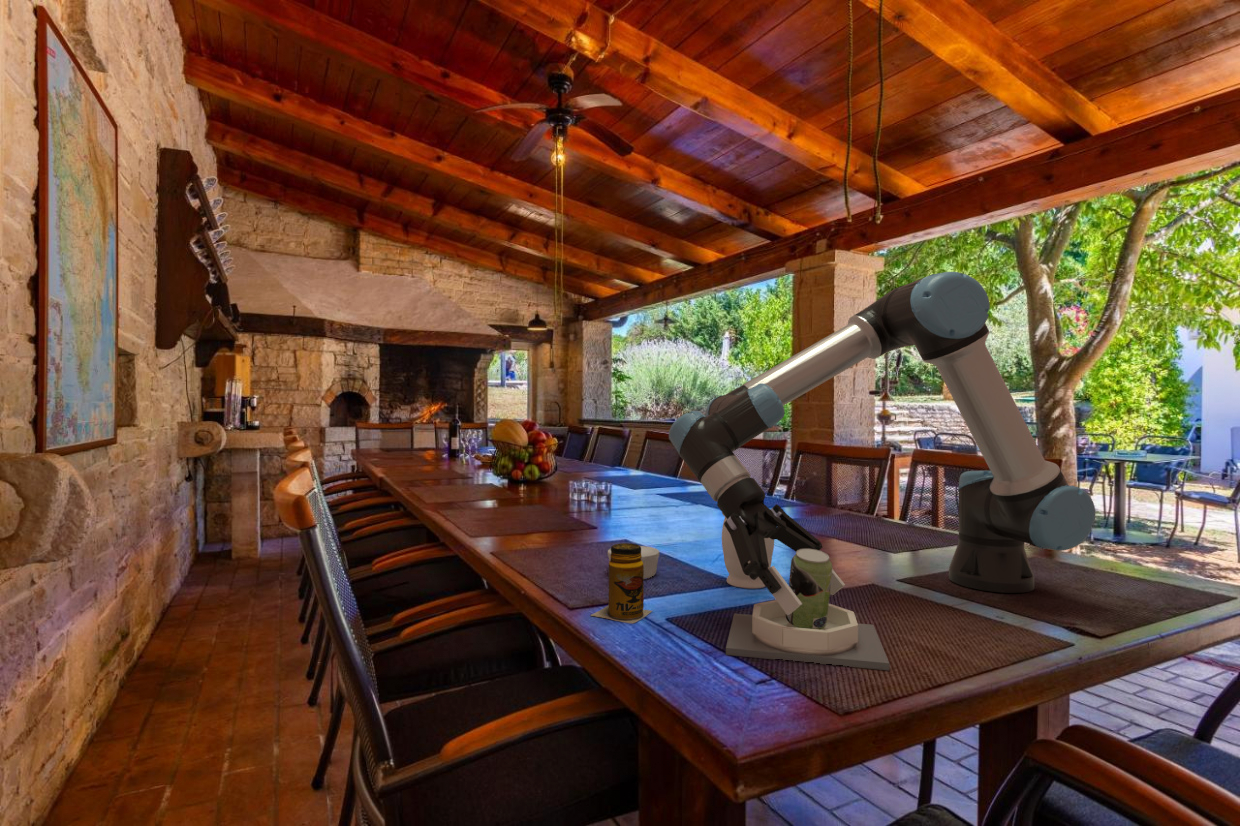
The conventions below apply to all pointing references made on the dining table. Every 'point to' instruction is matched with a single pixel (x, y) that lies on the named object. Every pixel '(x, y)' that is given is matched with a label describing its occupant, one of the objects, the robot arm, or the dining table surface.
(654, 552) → the ramekin
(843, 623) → the dish
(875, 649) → the slate board
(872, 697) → the dining table surface
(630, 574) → the condiment
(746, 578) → the jar
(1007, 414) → the robot arm
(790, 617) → the beverage can
